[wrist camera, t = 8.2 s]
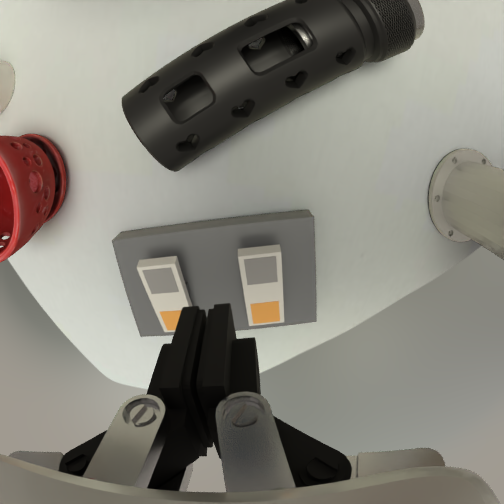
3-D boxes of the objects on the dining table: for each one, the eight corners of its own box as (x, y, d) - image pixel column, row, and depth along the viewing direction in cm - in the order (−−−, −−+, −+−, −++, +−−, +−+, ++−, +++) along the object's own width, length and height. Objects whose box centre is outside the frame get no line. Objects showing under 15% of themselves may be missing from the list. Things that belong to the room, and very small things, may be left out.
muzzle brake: (143, 98, 30) (104, 89, 20) (355, -11, 25) (389, -48, 16) (188, 167, 33) (165, 182, 24) (398, 54, 28) (445, 36, 19)
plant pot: (-8, 170, 31) (-67, 190, 20) (48, 109, 29) (-17, 111, 18) (33, 246, 36) (-19, 285, 25) (94, 195, 34) (39, 226, 23)
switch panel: (308, 209, 35) (315, 219, 31) (311, 308, 40) (318, 326, 36) (121, 232, 35) (108, 244, 32) (146, 323, 40) (138, 341, 36)
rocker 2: (279, 244, 30) (281, 252, 29) (283, 314, 36) (284, 322, 35) (237, 248, 30) (237, 257, 29) (248, 318, 36) (249, 326, 35)
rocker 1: (176, 255, 30) (174, 264, 29) (197, 322, 36) (197, 330, 35) (139, 259, 30) (136, 268, 29) (165, 324, 36) (164, 332, 35)
